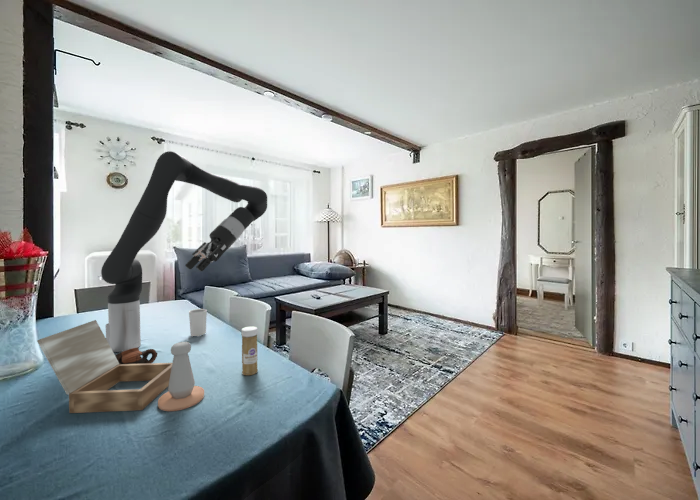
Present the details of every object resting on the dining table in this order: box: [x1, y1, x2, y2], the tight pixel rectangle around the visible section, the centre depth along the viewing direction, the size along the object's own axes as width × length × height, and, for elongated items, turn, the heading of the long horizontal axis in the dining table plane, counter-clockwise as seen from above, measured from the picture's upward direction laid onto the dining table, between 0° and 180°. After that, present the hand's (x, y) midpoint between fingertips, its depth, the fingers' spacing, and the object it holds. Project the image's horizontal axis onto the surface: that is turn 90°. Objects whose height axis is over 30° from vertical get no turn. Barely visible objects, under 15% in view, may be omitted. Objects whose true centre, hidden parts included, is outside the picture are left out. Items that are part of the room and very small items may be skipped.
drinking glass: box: [188, 308, 208, 337], centre depth 124 cm, size 7×7×10 cm
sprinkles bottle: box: [240, 325, 259, 376], centre depth 88 cm, size 5×5×13 cm
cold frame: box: [36, 319, 173, 414], centre depth 76 cm, size 22×16×17 cm
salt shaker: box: [167, 341, 196, 399], centre depth 74 cm, size 6×6×13 cm
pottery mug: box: [114, 347, 158, 364], centre depth 89 cm, size 12×10×8 cm
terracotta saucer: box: [157, 385, 205, 412], centre depth 74 cm, size 10×10×1 cm
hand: (193, 268), depth 93 cm, fingers open, 8 cm apart
